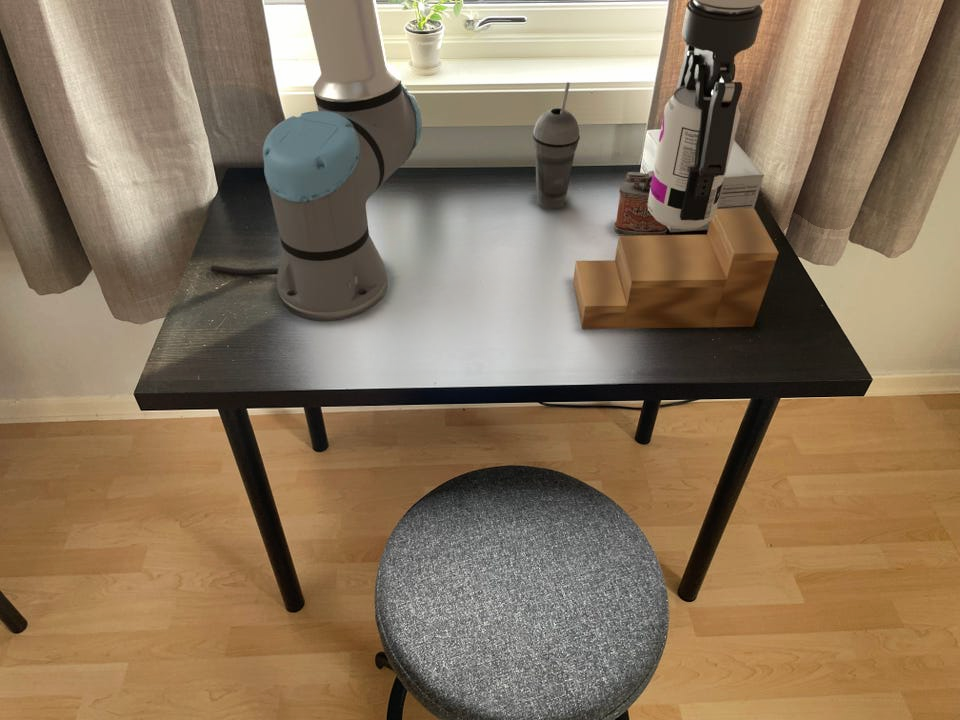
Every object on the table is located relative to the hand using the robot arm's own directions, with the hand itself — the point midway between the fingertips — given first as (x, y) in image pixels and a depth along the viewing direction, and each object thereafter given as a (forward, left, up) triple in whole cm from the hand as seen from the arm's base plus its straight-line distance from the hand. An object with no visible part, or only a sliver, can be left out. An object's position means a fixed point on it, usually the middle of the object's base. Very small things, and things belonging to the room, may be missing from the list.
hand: (683, 198), depth 90 cm
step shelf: (0, 0, -17) cm, 17 cm away
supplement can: (0, 0, -2) cm, 2 cm away
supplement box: (+11, +26, -17) cm, 33 cm away
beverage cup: (-12, +27, -17) cm, 34 cm away
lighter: (+1, +18, -17) cm, 25 cm away
